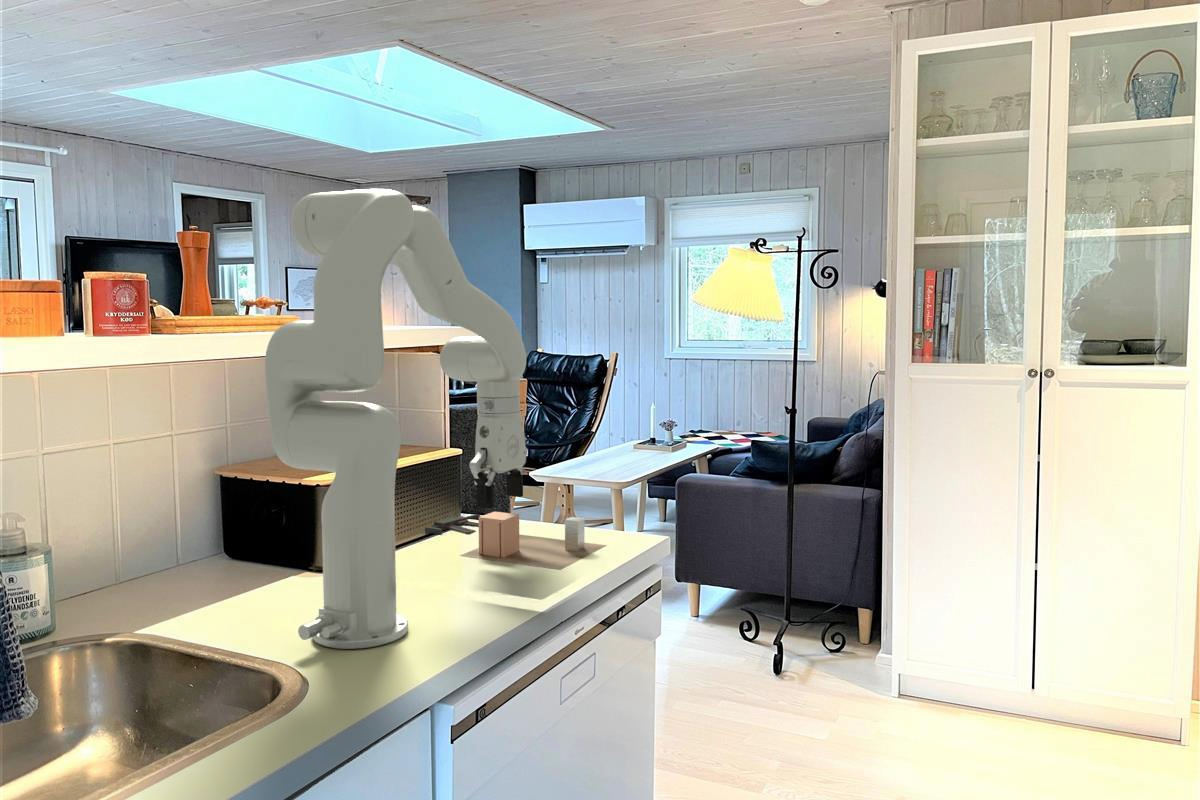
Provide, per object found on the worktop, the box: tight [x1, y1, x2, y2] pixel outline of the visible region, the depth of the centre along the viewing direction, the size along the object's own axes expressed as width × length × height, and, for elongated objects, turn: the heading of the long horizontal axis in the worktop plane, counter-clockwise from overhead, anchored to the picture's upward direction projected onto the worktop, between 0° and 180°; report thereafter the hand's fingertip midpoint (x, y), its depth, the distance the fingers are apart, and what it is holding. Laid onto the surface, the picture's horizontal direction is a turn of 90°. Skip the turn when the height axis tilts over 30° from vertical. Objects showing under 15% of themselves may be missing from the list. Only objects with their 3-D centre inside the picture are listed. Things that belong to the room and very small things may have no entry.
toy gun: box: [424, 513, 482, 535], centre depth 180 cm, size 3×19×15 cm
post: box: [564, 516, 585, 551], centre depth 160 cm, size 3×3×7 cm
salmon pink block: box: [478, 511, 520, 557], centre depth 158 cm, size 5×5×7 cm
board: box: [459, 533, 608, 571], centre depth 159 cm, size 18×20×2 cm
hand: (500, 501), depth 158 cm, fingers open, 9 cm apart
